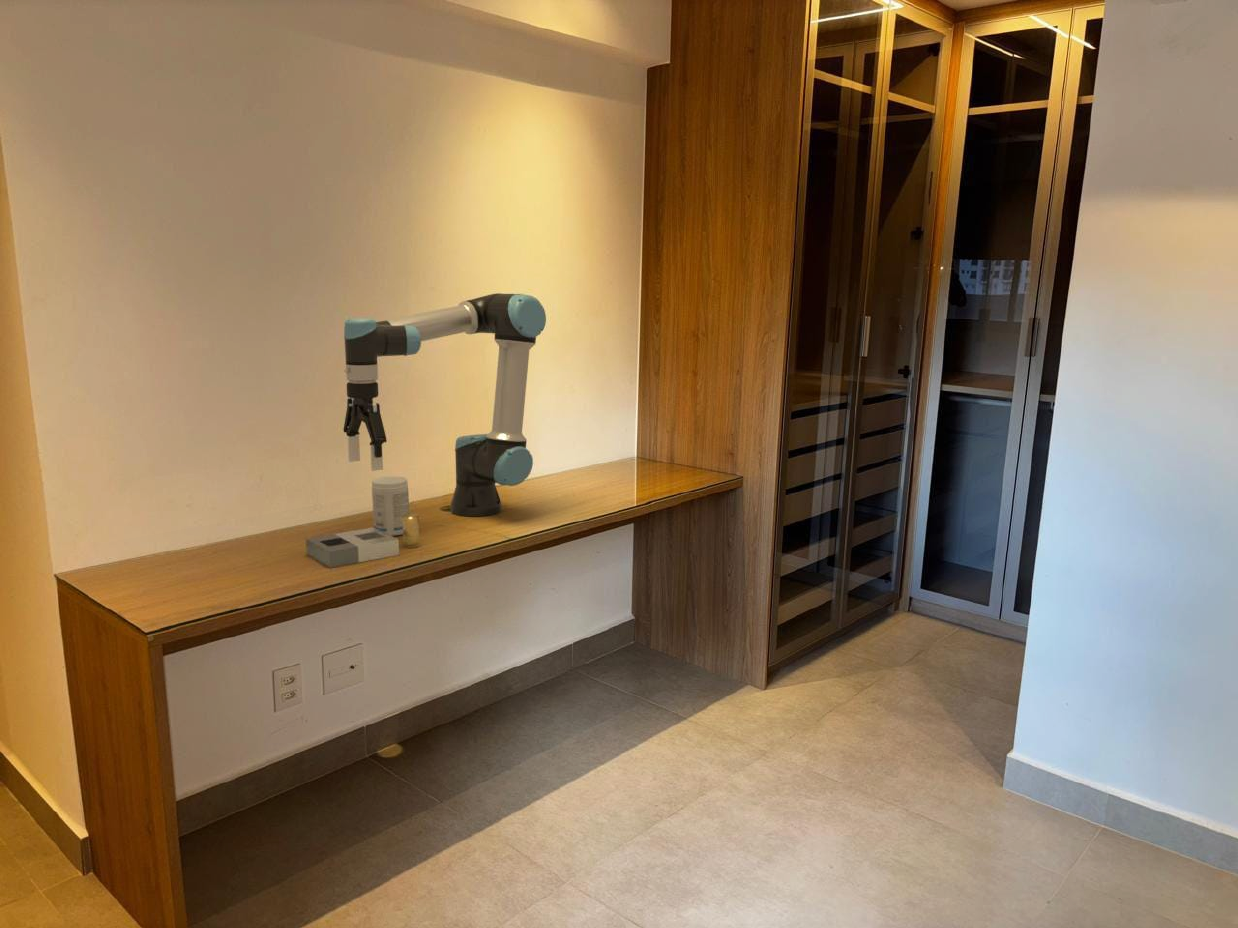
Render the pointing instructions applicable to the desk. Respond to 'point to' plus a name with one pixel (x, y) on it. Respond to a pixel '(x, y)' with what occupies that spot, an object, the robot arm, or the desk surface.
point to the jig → (352, 547)
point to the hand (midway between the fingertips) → (365, 465)
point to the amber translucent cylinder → (410, 531)
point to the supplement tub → (390, 504)
